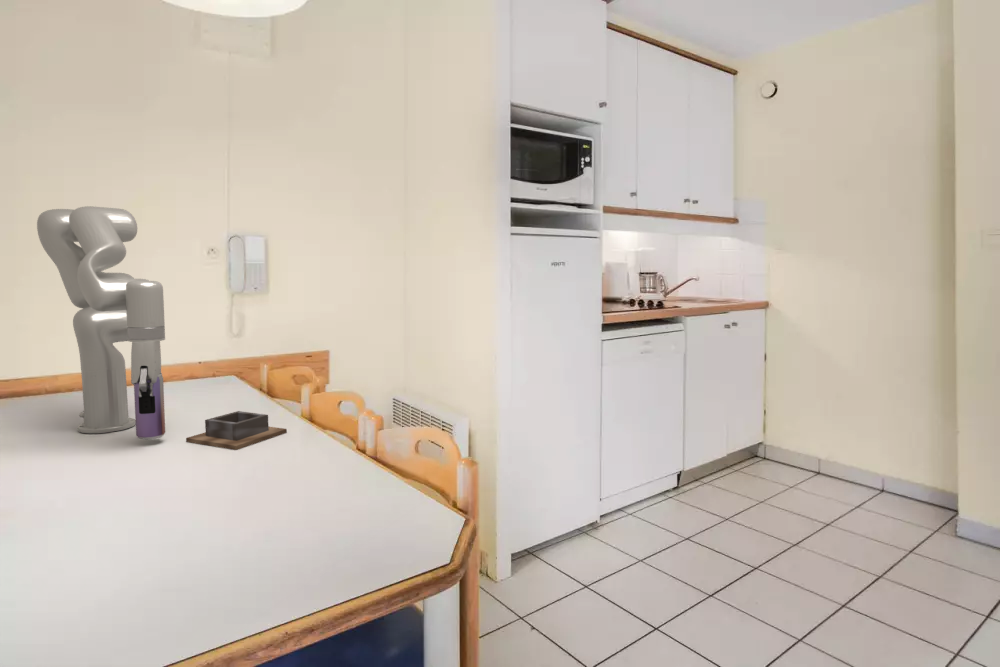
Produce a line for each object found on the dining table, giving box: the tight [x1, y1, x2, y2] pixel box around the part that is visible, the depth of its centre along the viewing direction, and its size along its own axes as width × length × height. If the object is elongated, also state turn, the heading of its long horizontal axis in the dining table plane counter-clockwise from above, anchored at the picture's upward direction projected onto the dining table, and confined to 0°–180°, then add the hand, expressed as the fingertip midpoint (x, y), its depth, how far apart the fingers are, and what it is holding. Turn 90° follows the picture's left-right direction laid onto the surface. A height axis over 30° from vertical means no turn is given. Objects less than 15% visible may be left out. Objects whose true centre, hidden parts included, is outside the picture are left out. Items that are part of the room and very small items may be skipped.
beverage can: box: [133, 372, 166, 441], centre depth 140 cm, size 6×6×15 cm
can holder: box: [185, 410, 288, 451], centre depth 145 cm, size 16×16×5 cm
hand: (149, 409), depth 140 cm, fingers closed on beverage can, 5 cm apart
